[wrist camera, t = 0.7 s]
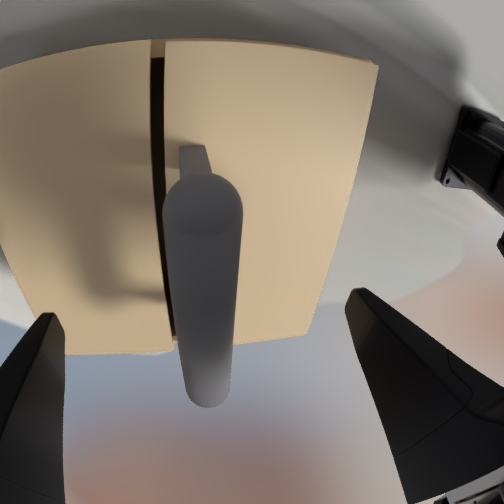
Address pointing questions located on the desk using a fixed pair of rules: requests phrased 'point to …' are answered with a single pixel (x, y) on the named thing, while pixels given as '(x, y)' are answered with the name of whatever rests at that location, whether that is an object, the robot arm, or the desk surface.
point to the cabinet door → (254, 192)
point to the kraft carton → (91, 192)
